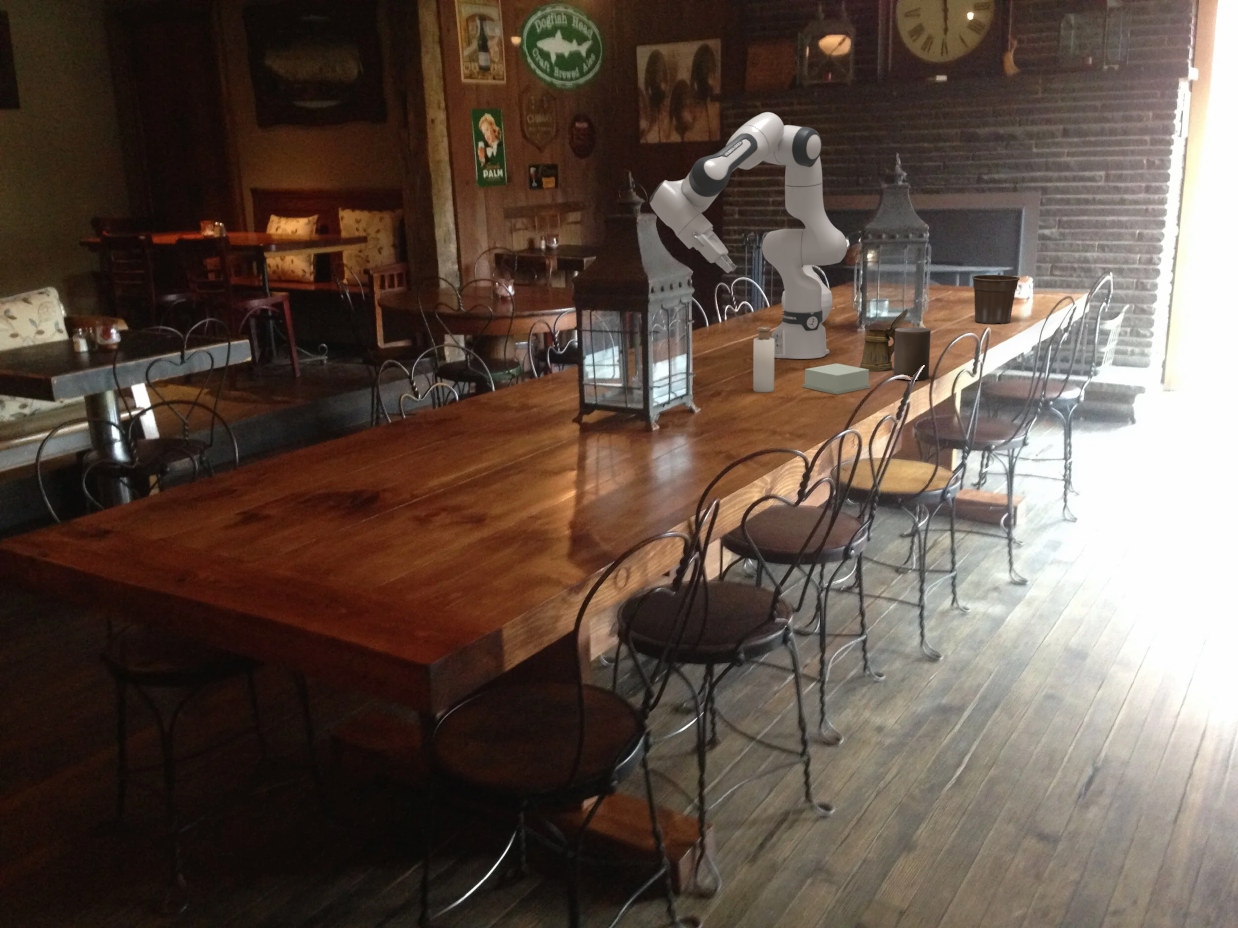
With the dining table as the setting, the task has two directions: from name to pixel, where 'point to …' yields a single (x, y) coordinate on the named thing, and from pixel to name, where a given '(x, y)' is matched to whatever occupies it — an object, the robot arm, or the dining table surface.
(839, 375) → the plinth
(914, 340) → the pillar candle
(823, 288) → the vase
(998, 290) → the plant pot
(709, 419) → the dining table surface
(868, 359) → the wooden mug
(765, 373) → the stoneware bottle
